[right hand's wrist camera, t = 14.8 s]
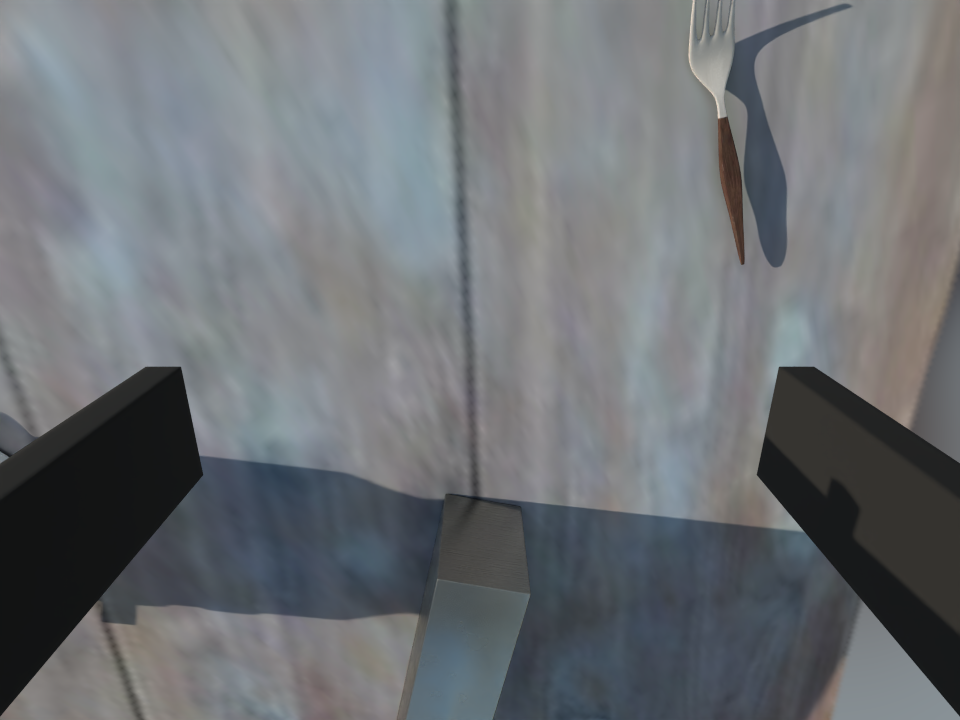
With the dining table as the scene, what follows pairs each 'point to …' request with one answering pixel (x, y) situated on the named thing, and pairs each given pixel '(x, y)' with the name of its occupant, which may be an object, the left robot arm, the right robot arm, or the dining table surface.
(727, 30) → the fork
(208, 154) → the dining table surface
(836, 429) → the right robot arm
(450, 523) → the bar
